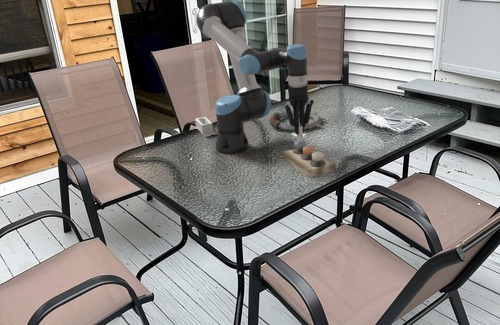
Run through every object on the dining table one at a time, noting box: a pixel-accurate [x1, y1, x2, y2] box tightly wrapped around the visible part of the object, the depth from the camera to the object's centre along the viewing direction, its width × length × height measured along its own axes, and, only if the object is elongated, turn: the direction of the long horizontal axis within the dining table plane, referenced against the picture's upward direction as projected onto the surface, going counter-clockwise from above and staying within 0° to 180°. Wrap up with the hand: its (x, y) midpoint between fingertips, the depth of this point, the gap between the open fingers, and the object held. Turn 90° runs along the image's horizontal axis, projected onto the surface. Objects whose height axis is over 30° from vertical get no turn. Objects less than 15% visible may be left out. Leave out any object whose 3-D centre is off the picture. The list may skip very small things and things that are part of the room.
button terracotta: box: [303, 145, 315, 155], centre depth 181 cm, size 4×4×2 cm
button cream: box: [312, 151, 324, 161], centre depth 174 cm, size 4×4×2 cm
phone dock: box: [194, 116, 214, 135], centre depth 227 cm, size 5×12×6 cm, turn 22°
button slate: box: [293, 140, 306, 148], centre depth 187 cm, size 4×4×2 cm
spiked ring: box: [268, 110, 328, 132], centre depth 230 cm, size 33×5×30 cm
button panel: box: [282, 147, 337, 178], centre depth 182 cm, size 12×22×4 cm, turn 22°
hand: (299, 140), depth 186 cm, fingers closed
